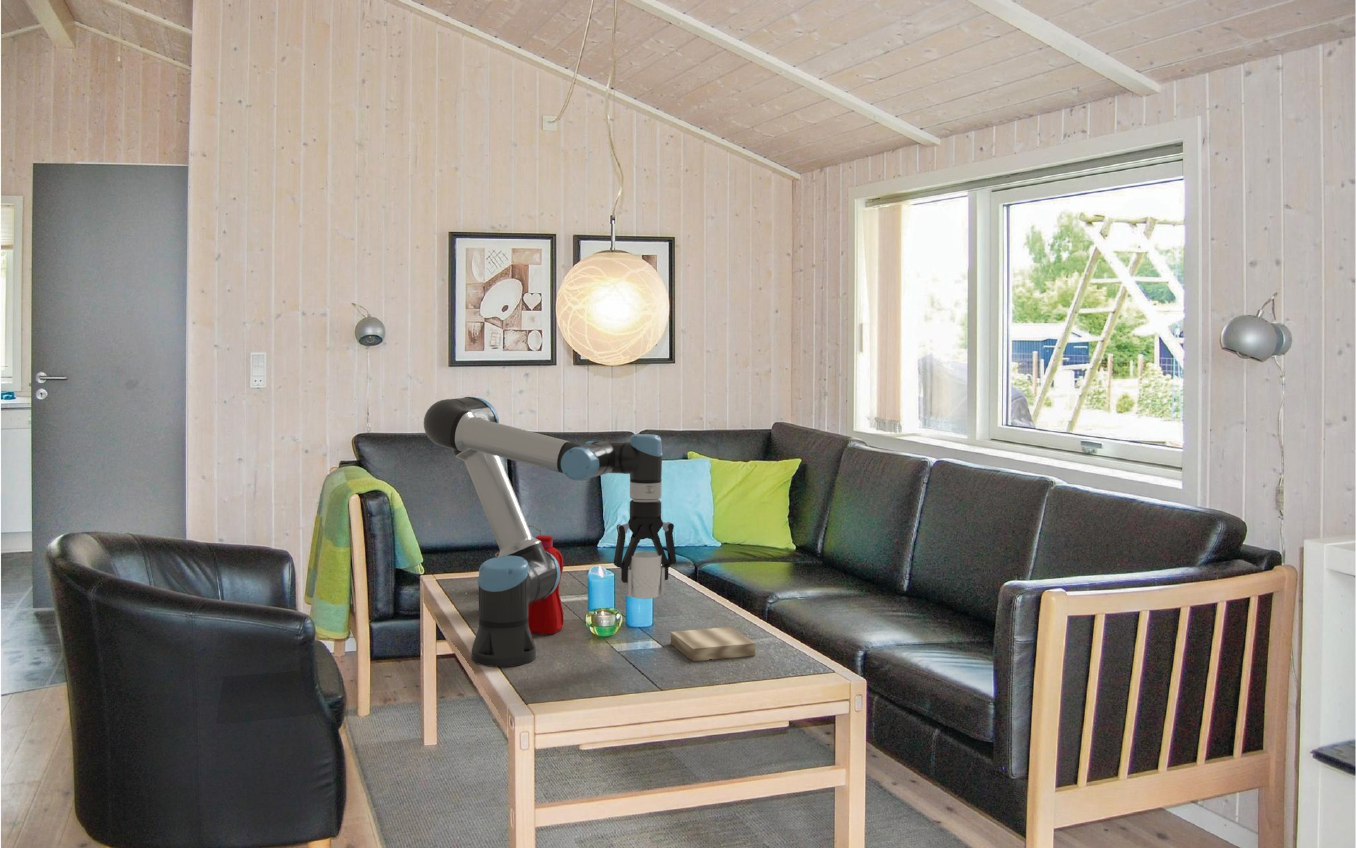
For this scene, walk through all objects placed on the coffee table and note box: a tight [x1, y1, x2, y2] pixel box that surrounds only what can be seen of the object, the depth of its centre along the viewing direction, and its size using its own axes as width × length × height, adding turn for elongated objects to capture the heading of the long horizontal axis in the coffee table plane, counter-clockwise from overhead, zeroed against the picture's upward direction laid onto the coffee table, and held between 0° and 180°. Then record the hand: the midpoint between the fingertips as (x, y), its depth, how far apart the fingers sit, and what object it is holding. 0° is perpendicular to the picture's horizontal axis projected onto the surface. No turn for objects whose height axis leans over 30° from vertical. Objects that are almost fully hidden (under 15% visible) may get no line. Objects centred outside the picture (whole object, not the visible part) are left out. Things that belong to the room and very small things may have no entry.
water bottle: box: [528, 534, 565, 636], centre depth 289 cm, size 9×11×25 cm
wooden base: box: [670, 626, 756, 662], centre depth 273 cm, size 16×16×3 cm
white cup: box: [629, 550, 662, 600], centre depth 265 cm, size 8×8×10 cm
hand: (644, 594), depth 265 cm, fingers closed on white cup, 8 cm apart
